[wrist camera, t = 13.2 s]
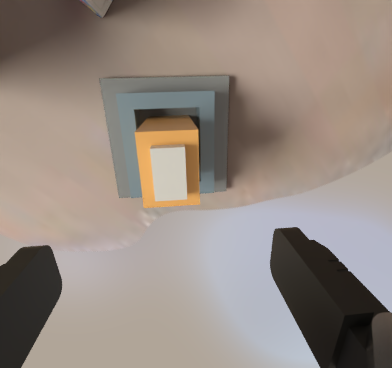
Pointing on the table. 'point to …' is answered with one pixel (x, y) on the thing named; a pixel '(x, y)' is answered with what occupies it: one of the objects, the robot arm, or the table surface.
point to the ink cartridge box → (98, 6)
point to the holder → (167, 106)
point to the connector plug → (168, 161)
